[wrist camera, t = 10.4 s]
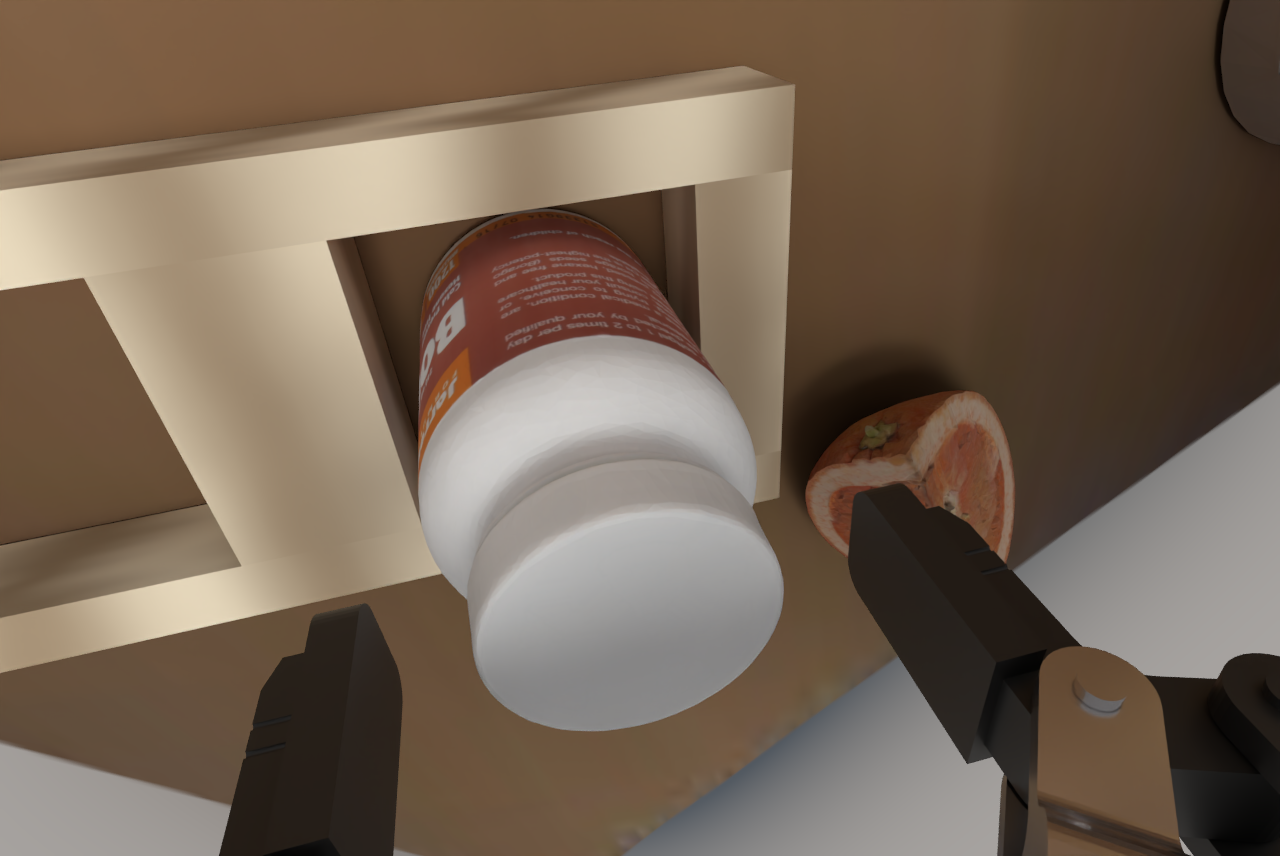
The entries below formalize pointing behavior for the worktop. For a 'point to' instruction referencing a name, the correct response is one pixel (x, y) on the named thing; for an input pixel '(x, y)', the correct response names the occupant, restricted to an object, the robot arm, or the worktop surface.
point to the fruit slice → (921, 466)
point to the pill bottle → (585, 480)
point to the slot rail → (354, 323)
